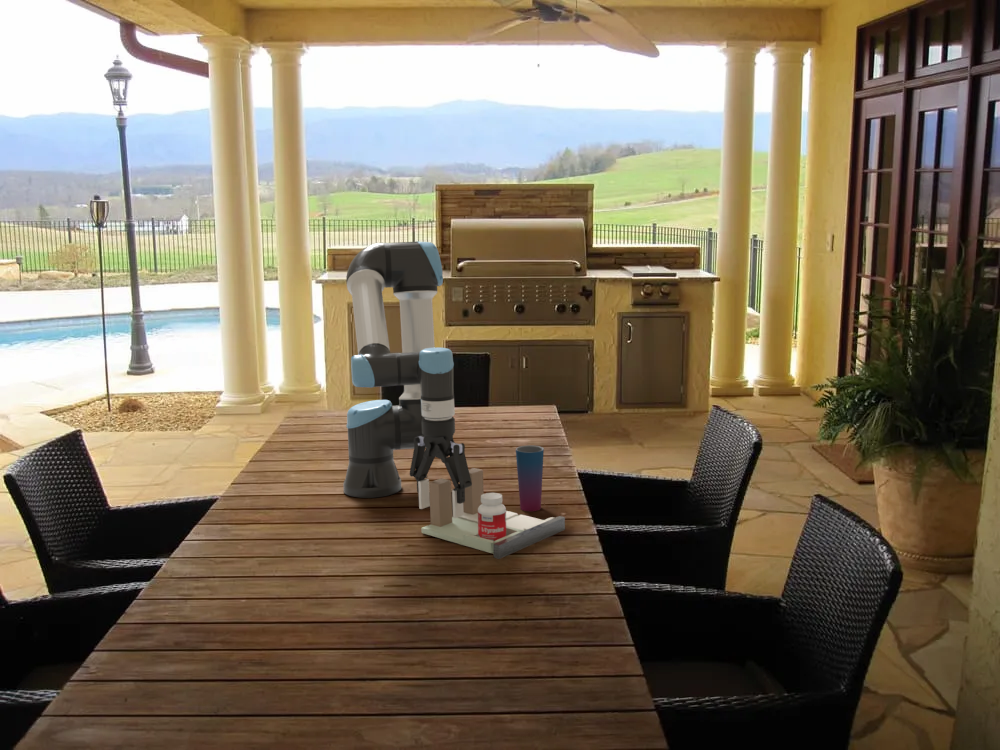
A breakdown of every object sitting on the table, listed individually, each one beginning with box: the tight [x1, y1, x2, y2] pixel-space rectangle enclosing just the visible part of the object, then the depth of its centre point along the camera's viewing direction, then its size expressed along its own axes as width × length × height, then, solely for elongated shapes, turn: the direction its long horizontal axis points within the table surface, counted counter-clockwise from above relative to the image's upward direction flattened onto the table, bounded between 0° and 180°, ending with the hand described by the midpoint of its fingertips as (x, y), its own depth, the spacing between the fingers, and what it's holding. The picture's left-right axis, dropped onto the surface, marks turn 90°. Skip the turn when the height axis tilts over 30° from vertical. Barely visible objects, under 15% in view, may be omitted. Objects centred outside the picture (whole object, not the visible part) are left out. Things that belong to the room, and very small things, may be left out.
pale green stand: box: [421, 477, 523, 555], centre depth 210 cm, size 22×10×11 cm, turn 49°
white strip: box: [506, 514, 555, 531], centre depth 215 cm, size 10×10×2 cm
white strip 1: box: [457, 467, 519, 523], centre depth 222 cm, size 11×10×11 cm
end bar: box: [493, 515, 566, 560], centre depth 207 cm, size 2×23×3 cm, turn 140°
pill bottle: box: [478, 492, 507, 541], centre depth 206 cm, size 6×6×11 cm
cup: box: [515, 444, 545, 512], centre depth 230 cm, size 7×7×15 cm
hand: (441, 511), depth 217 cm, fingers open, 10 cm apart
